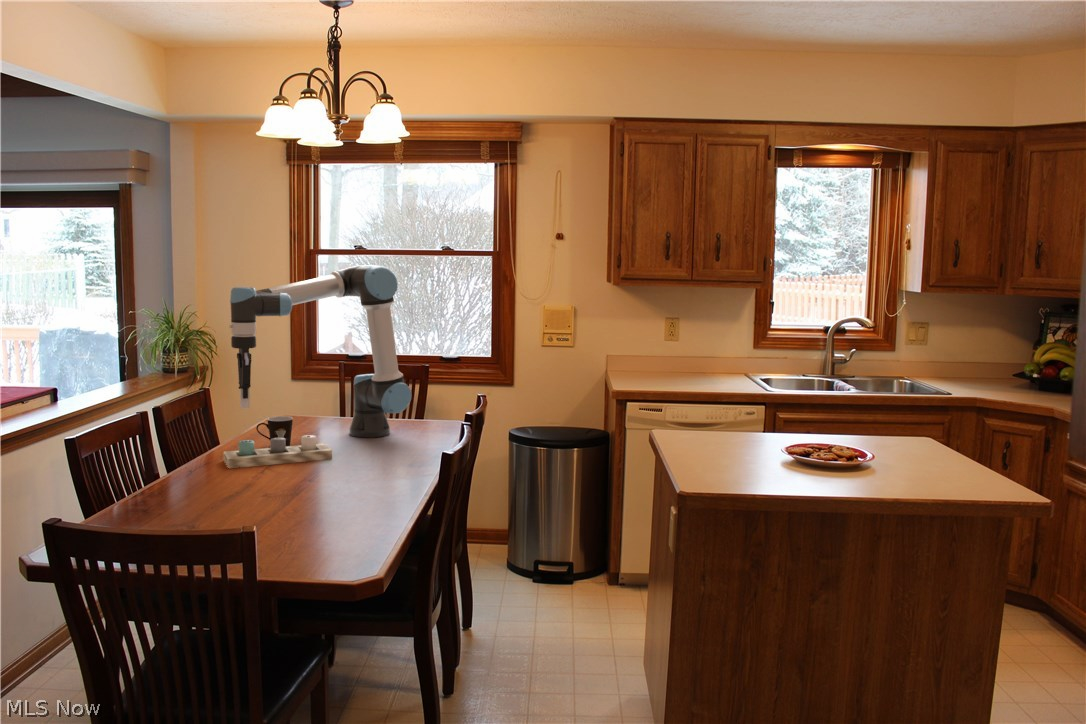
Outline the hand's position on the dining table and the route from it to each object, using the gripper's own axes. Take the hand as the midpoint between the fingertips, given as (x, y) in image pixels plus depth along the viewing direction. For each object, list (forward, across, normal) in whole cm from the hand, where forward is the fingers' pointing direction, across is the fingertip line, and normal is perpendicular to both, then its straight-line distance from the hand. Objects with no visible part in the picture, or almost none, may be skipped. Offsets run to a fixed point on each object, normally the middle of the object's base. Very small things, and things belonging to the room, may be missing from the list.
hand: (244, 407), depth 274 cm
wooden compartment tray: (+18, 0, +10) cm, 21 cm away
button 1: (+16, 0, +20) cm, 26 cm away
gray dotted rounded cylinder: (+16, 0, +10) cm, 19 cm away
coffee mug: (+18, -20, +13) cm, 30 cm away
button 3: (+16, 0, 0) cm, 16 cm away
